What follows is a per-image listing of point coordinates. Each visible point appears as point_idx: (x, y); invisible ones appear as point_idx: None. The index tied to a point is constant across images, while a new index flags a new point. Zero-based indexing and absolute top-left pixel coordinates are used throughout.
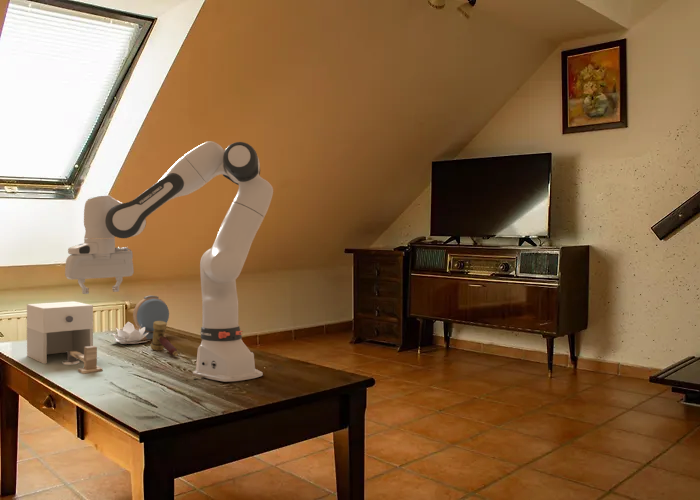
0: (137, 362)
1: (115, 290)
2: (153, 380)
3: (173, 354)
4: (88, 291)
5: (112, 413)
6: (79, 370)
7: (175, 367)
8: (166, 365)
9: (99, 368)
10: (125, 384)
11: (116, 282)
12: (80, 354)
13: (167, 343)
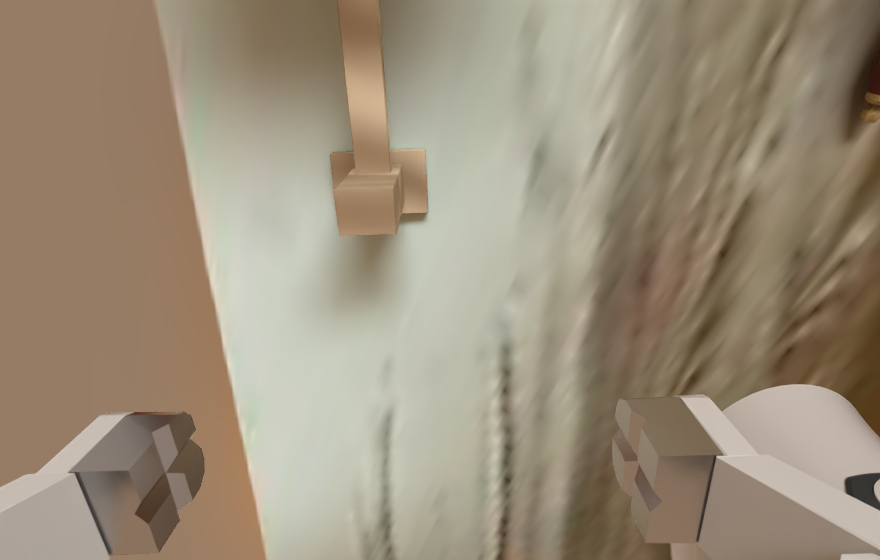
0: (643, 109)
1: (630, 477)
2: (509, 469)
3: (866, 97)
4: (184, 499)
5: None
6: (333, 173)
7: (691, 329)
8: (692, 269)
9: (415, 207)
10: (414, 468)
11: (800, 507)
12: (362, 19)
13: None
